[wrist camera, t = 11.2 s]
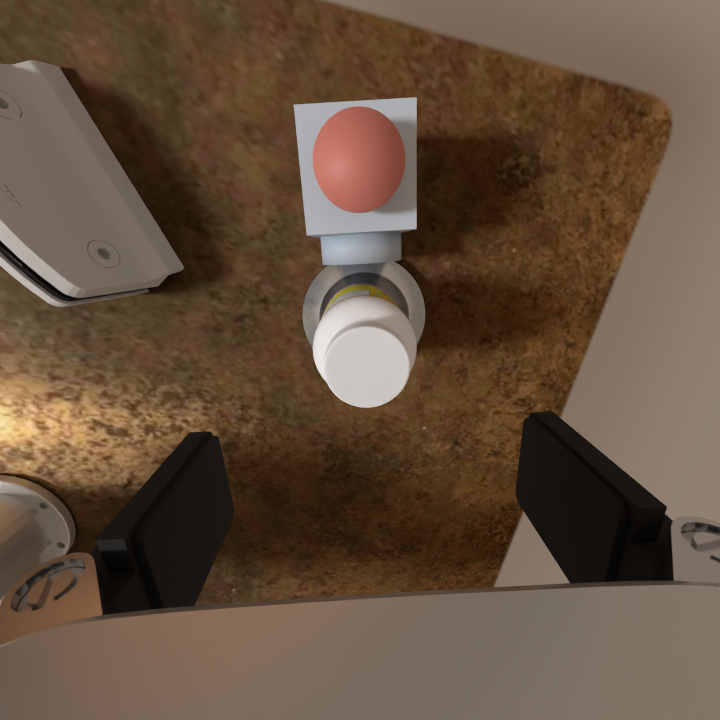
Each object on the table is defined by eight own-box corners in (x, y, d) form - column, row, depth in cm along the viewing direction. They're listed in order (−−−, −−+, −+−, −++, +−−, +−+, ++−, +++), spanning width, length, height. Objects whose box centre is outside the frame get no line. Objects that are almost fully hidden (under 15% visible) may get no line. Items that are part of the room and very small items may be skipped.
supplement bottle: (407, 342, 31) (441, 406, 19) (338, 364, 32) (329, 438, 19) (386, 271, 29) (411, 291, 17) (313, 295, 30) (286, 330, 17)
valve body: (400, 257, 30) (423, 263, 20) (321, 261, 30) (305, 270, 20) (398, 138, 27) (424, 78, 17) (310, 144, 27) (286, 86, 17)
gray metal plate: (422, 368, 33) (425, 372, 32) (310, 374, 33) (309, 379, 32) (423, 249, 30) (426, 250, 29) (297, 257, 30) (295, 257, 29)
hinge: (187, 272, 30) (73, 307, 21) (155, 291, 32) (39, 331, 24) (55, 60, 25) (-162, -3, 16) (27, 99, 27) (-178, 61, 19)
